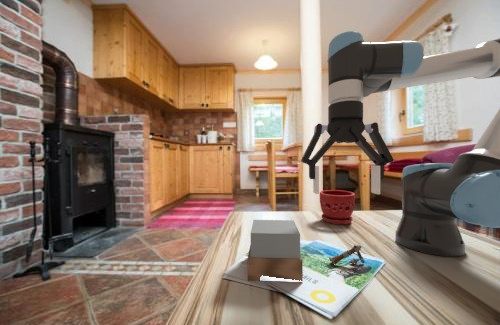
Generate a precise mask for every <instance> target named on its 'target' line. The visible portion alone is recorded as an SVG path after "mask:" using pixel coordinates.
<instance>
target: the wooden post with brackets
mask: <svg viewBox="0 0 500 325" xmlns="http://www.w3.org/2000/svg"><path fill="white" fill-rule="evenodd" d="M361 249H362V245H361V244H359V245H358V244H356V245H355V244H354V245H353V246H352V248H351V249H347V250H344V252H342V253H341V254H339V255H336V256H333V257H331V256H328V260H329V261H332V262H333V263H332V265H333V264H335V265H337V264H338V263H340V261H342V260H343V259H347V258H348V257H349V258H350V257H351V256H352V255H356V256H357V257H358V258H355V257H353V259H350V260H349V263H352V265H353V264H354V263H356V264H357V263H359V262H361V263H362V264H364V263H365V259H364V257H363V256H362V253H361V252H360V251H361ZM349 263H348V264H349Z"/></svg>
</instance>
